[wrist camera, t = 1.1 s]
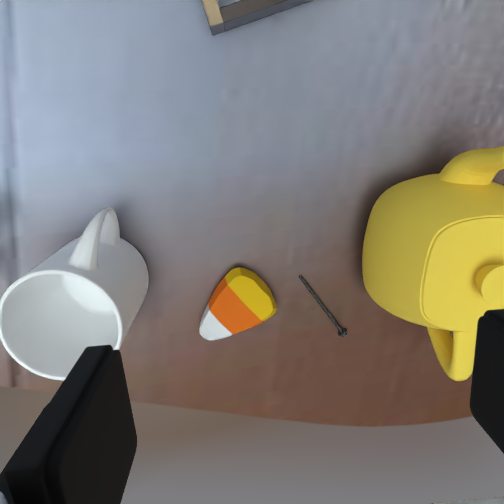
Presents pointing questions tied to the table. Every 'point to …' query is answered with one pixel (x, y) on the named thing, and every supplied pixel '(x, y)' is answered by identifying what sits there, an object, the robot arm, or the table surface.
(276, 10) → the dock
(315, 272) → the table surface
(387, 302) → the teapot
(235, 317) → the candy corn
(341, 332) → the screw
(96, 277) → the mug
